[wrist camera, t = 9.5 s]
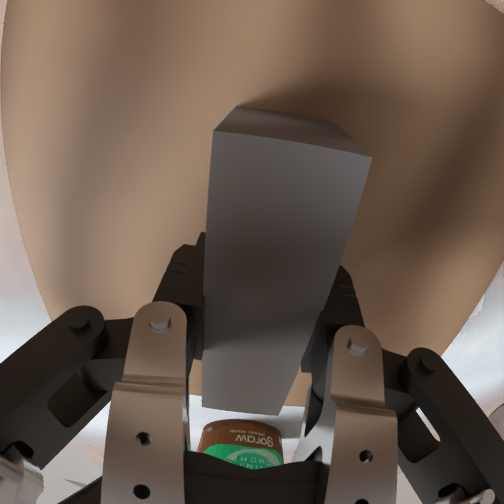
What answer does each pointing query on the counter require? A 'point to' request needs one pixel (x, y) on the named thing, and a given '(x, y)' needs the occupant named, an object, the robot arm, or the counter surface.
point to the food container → (243, 443)
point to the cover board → (179, 88)
